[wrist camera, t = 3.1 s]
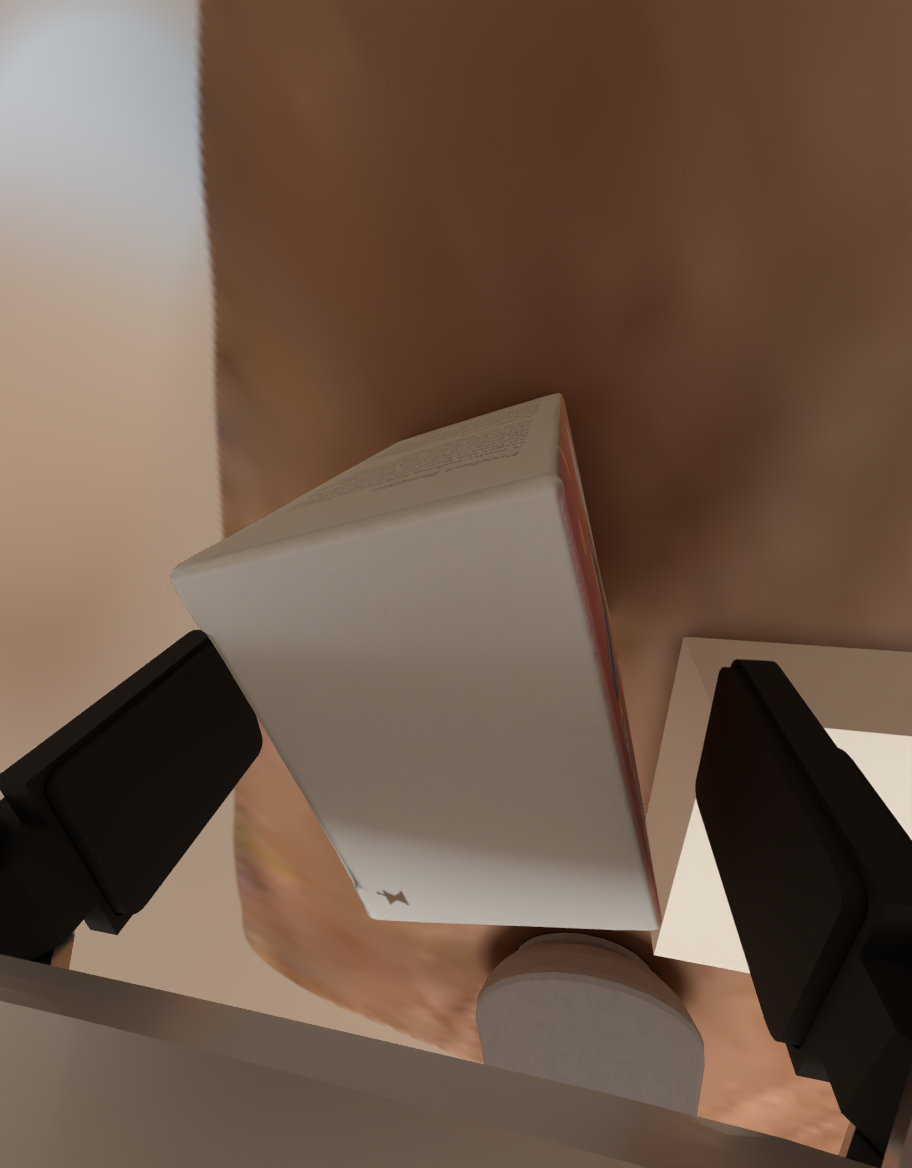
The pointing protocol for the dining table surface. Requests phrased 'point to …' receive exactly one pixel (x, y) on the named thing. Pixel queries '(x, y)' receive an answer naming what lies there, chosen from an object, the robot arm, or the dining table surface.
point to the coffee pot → (591, 1022)
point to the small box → (445, 677)
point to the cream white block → (674, 824)
